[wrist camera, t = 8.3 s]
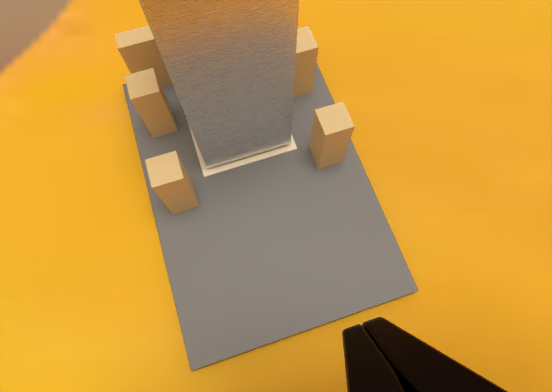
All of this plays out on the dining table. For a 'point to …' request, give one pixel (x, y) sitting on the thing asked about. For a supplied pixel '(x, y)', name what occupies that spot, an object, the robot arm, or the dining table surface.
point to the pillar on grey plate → (230, 70)
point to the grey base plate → (260, 216)
